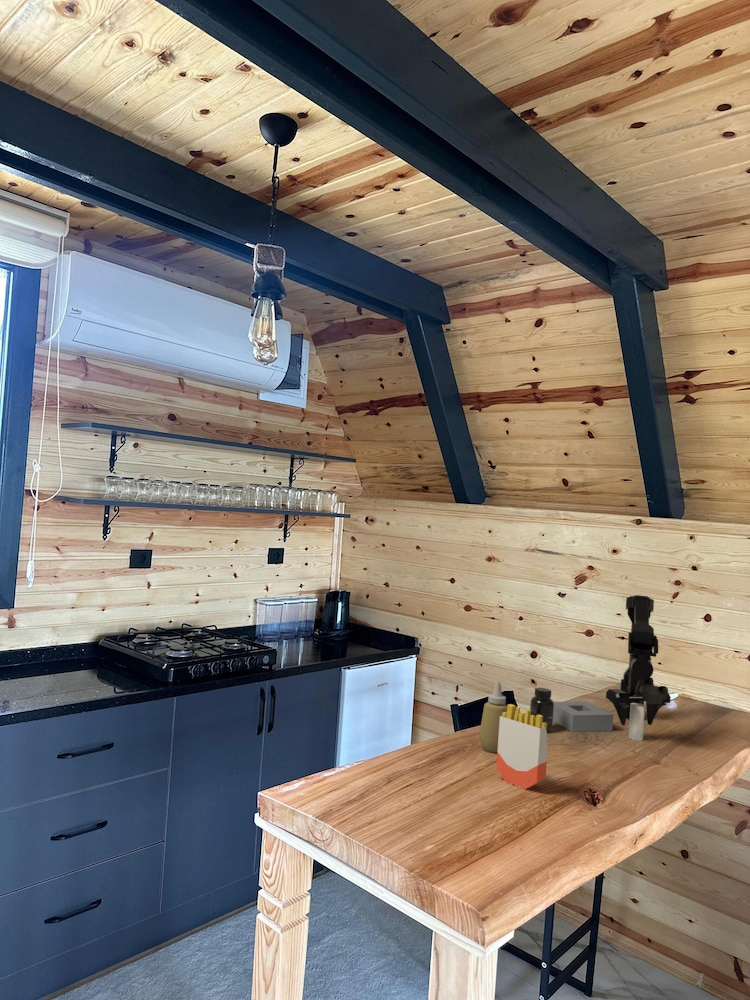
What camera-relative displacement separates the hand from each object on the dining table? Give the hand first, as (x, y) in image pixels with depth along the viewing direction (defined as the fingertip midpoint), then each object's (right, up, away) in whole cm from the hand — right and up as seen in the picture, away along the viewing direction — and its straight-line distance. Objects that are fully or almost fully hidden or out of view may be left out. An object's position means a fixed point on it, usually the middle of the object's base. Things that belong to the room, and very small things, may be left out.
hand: (636, 725), depth 201 cm
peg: (0, -4, 0) cm, 4 cm away
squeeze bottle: (-46, -1, -19) cm, 49 cm away
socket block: (-14, -3, +10) cm, 18 cm away
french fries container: (-43, 0, -41) cm, 60 cm away
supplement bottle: (-28, -2, +2) cm, 28 cm away
